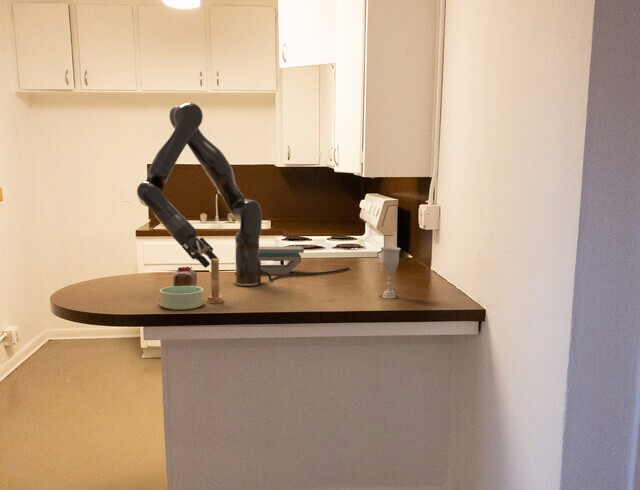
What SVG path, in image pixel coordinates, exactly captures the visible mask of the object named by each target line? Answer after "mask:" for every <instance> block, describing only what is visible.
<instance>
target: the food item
mask: <svg viewBox="0 0 640 490" xmlns="http://www.w3.org/2000/svg"><path fill="white" fill-rule="evenodd" d="M192 268H193V267H192V266H181V267H177V270H176V273H175V274H174V275H173V286H196V287H197V284H198V274H197V272H196V271H195V270H194V269H192Z"/></svg>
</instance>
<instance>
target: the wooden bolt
mask: <svg viewBox="0 0 640 490" xmlns="http://www.w3.org/2000/svg"><path fill="white" fill-rule="evenodd" d="M219 264H220V259H219V258H218V259H211V260H210V282H211V283H210V284H211V286H210V287H211V291H210V292H211V294H210V295H208V296H207V303H209V304H222V303H223V302H224V296H223V295H221V294H220V273H219V272H220V265H219Z"/></svg>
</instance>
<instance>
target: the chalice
mask: <svg viewBox="0 0 640 490" xmlns="http://www.w3.org/2000/svg"><path fill="white" fill-rule="evenodd" d="M380 250H381V264H382V267H383V269H384V272H385V273H386V274H387V275H388V276H387V283H386V285H387V288H386V289H385V290H384V291H383V294H382V296H381V298H384V299H396V294H395V291H394V290H392V279H393V278H392V274H394V273H395V271H396V269H397V267H398V265H399V262H400V251H401V248H400V247H395V246H383V247H380Z"/></svg>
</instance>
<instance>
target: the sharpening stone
mask: <svg viewBox="0 0 640 490" xmlns="http://www.w3.org/2000/svg"><path fill="white" fill-rule="evenodd" d="M304 252H305V249H304V247H303V246H259V260H260V261H261V262H277V261H278V262H287V261H288V262H287V263H286V264H261V269H263V271H265V272H267V273H269V274H270V275H285V274H291V272H292V271H293V270H295V268H296V267H297V266H299V265H300V263H301V262H302V255H301V254H304ZM263 275H265V274H264V273H263Z"/></svg>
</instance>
